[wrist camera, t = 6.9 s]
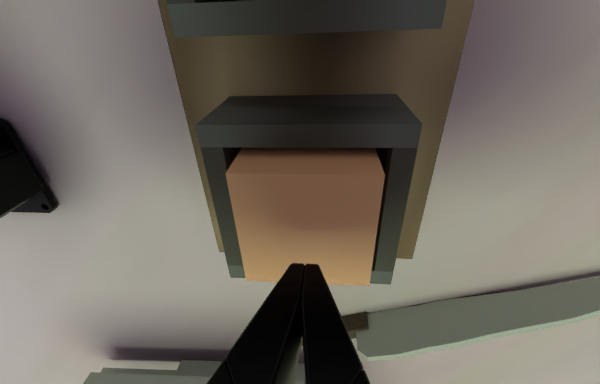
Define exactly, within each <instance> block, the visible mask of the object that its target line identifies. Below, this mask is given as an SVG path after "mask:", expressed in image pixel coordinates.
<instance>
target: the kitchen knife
mask: <svg viewBox="0 0 600 384" xmlns="http://www.w3.org/2000/svg"><path fill="white" fill-rule="evenodd" d="M598 315H600V277H599V278H592V279H586V280H580V281H573V282H567V283H561V284H555V285H548V286H542V287H536V288H529V289H523V290H517V291H511V292H503V293H496V294H488V295H480V296H473V297H464V298H456V299H447V300H440V301H435V302H431V303H426V304H422V305H417V306H410V307H401V308H396V309H391V310H385V311H380V312H374V313H369V314H367V312H362V313H357V314H352V315H346V316H341V317H342V320H343V322H344V324H345V327H346V329H347V331H348V334H349V336H350V338H351V339H352V338H357V347H358V351H359V353H360V354H361V355H362V356H364V357H365V358H366V359H367V360H369V361H375V360H386V359H397V358H403V357H407V356H412V355H416V354H421V353H425V352H429V351H435V350H441V349H447V348H453V347H458V346H462V345H467V344H471V343H475V342H480V341H484V340H488V339H493V338H498V337H503V336H508V335H513V334H518V333H523V332H528V331H533V330H539V329H544V328H550V327H555V326H561V325H566V324H571V323H575V322H578V321H582V320H585V319H588V318H592V317H595V316H598ZM302 345H303V335H302V343H301V346H302Z"/></svg>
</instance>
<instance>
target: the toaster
mask: <svg viewBox="0 0 600 384" xmlns="http://www.w3.org/2000/svg"><path fill="white" fill-rule="evenodd" d="M221 362H222V361H197V360H181V362H180V364H179V367H178V369H177V370H152V369H124V368H103V369H102V371H101V372H100V373H93V372H91V373H90V374H89V376H88V377H87V379H86V380H85V382H84V383H83V384H206V383H207V382H208V381H209V379H210V378H211V377H212V375H213V374H214V372H215V371H216V370H217V368H218V367H219V365H220V364H221ZM294 384H305V370H304V364H298V366H297V372H296V378H295V383H294Z"/></svg>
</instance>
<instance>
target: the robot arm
mask: <svg viewBox="0 0 600 384" xmlns="http://www.w3.org/2000/svg"><path fill="white" fill-rule="evenodd" d="M56 208H57V204H56V202H55V201H54V199H53V197H52V195H51V194H50V192H49V190H48V189H47V187H46V185H45V183H44V182H43V180H42V178H41V177H40V175H39V173H38V171H37V170H36V168H35V166H34V165H33V163H32V161H31V159H30V158H29V156H28V154H27V153H26V151H25V149H24V147H23V146H22V144H21V142H20V141H19V139H18V137H17V135H16V134H15V132H14V130H13V129H12V127H11V125H10V124H9V123H8V122H7V121H6V120H4V119H2V118H0V218H1V217H3V216H5V215H6V214H8V213H9V212H37V213H50V212H52V211H53V210H55V209H56ZM302 335H303V353H304V370H305V384H370V382H369V380H368V377H367V375H366V373H365V371H364V370H363V366H362V364H361V361H360V359H359V357H358V354H357V352H356V350H355V347H354V345H353V343H352V341H351V338H350V336H349V334H348V331H347V329H346V327H345V324H344V322H343V320H342V317H341V315H340V313H339V310H338V308H337V306H336V303H335V301H334V299H333V296H332V294H331V292H330V289H329V287H328V285H327V282H326V280H325V278H324V275H323V273H322V271H321V268H320V266H319V265H318V264H309V263H307V264H305V265H304V264H303V263H291V264H290V265H289V267H288V268H287V270H286V271H285V273H284V274H283V275H282V277H281V278H280V280H279V281H278V283H277V284H276V285H275V287H274V288H273V290H272V291H271V293H270V294H269V295H268V297H267V298H266V300H265V301H264V303H263V304H262V305H261V307H260V308H259V310H258V311H257V313H256V314H255V315H254V317H253V318H252V320H251V321H250V323H249V324H248V325H247V327H246V328H245V330H244V331H243V333H242V334H241V335H240V337H239V338H238V340H237V341H236V343H235V344H234V345H233V347H232V348H231V350H230V351H229V353H228V354H227V355H226V357H225V360H223V361H222V362H221V364H220V365H219V367H218V368H217V370H216V371H215V372H214V374H213V375H212V377H211V378H210V379H209V381H208V382H207V383H206V384H294V383H295V378H296V372H297V366H298V361H299V355H300V349H301V343H302Z"/></svg>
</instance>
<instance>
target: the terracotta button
mask: <svg viewBox="0 0 600 384" xmlns="http://www.w3.org/2000/svg"><path fill="white" fill-rule="evenodd" d="M225 174H226V179H227V184H228V189H229V194H230V199H231V205H232V210H233V215H234V220H235V225H236V231H237V236H238V241H239V246H240V251H241V257H242V262H243V267H244V272H245V277H246V280H248V281H270V282H278V281H279V280H280V278H281V277H282V275H283V274H284V273H285V271H286V270H287V268H288V267H289V265H290V264H291V263H303V264H304V265H305V264H307V263H309V264H318V265H319V266H320V268H321V271H322V273H323V275H324V278H325V280H326V282H327V284H339V285H362V286H369V285H370V278H371V270H372V263H373V256H374V249H375V242H376V235H377V228H378V221H379V214H380V207H381V200H382V192H383V185H384V178H385V174H384V171H383V168H382V165H381V162H380V160H379V157H378V154H377V151H376V148H270V147H242V148H241V150H240V152H239V153H238V155H237V156H236V158H235V159H234V161H233V162H232V164H231V166H230V167H229V169H228V170H227V172H226V173H225Z"/></svg>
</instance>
